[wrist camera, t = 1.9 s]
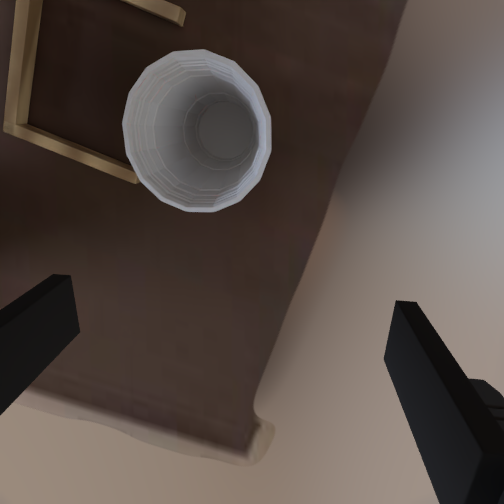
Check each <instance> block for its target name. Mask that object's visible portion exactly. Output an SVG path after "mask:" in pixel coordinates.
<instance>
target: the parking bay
mask: <svg viewBox="0 0 504 504" xmlns="http://www.w3.org/2000/svg"><path fill="white" fill-rule="evenodd" d="M120 1H123V2H125V3H127V4H130V5H132V6H135V7H137V8H139V9H142V10H144V11H146V12H149V13H151V14H153V15H156V16H158V17H160V18H163V19H165V20H167V21H170V22H172V23H174V24H177V25H179V26H182V27H183V23H184V20H185V16H186V12H185V11H184V10H183V9H182V8H181V7H179V6H177V5H175V4H172V3H170V2H168V1H165V0H120ZM42 3H43V0H16V7H15V17H14V26H13V36H12V46H11V56H10V65H9V75H8V85H7V95H6V104H5V114H4V124H3V132H6V133H8V134H11V135H13V136H16V137H19V138H21V139H24V140H26V141H29V142H31V143H34V144H36V145H39V146H41V147H44V148H46V149H49V150H51V151H54V152H56V153H59V154H61V155H63V156H66V157H68V158H71V159H73V160H76V161H78V162H81V163H83V164H86V165H88V166H91V167H93V168H96V169H98V170H101V171H103V172H106V173H108V174H111V175H113V176H116V177H118V178H121V179H123V180H126V181H128V182H131V183H133V184H137V183H139V182H141V181H140V180H139V178H138V176H137V174H136V172H135V170H134V168H133V166H131V165H128V164H126V163H123V162H121V161H118V160H116V159H113V158H111V157H108V156H106V155H103V154H101V153H98V152H96V151H93V150H91V149H88V148H86V147H83V146H81V145H78V144H76V143H74V142H71V141H69V140H66V139H64V138H61V137H59V136H56V135H54V134H51V133H49V132H46V131H44V130H41V129H39V128H36V127H34V126H31V125H29V124H27V121H28V113H29V106H30V98H31V90H32V82H33V74H34V66H35V58H36V51H37V43H38V35H39V27H40V19H41V11H42Z"/></svg>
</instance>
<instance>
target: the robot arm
mask: <svg viewBox="0 0 504 504" xmlns="http://www.w3.org/2000/svg"><path fill="white" fill-rule="evenodd" d="M79 333H80V328H79V322H78V316H77V310H76V304H75V298H74V292H73V286H72V280H71V275H58V274H53V275H51V276H50V277H48V278H47V279H45V280H44V281H42V282H41V283H39V284H38V285H36V286H35V287H33V288H32V289H31V290H29V291H28V292H26V293H25V294H23V295H22V296H20V297H19V298H17V299H16V300H14V301H13V302H12V303H10V304H9V305H7V306H6V307H4V308H3V309H1V310H0V415H1V414H2V413H3V412H4V411H5V410H6V409H7V408H8V407H9V406H10V405H11V403H13V402H14V401H15V400H16V399H17V398H18V396H19V395H20V394H21V393H22V392H23V391H24V390H25V389H26V388H27V387H28V386H29V385H30V384H31V383H32V382H33V381H34V380H35V379H36V378H37V377H38V376H39V374H40V373H41V372H42V371H43V370H44V369H45V368H46V367H47V366H48V365H49V364H50V363H51V362H52V361H53V360H54V359H55V358H56V357H57V356H58V355H59V354H60V352H61V351H62V350H63V349H64V348H65V347H66V346H67V345H68V344H69V343H70V342H71V341H72V340H73V339H74V338H75V337H76V336H77V335H78V334H79ZM384 361H385V364H386V366H387V369H388V372H389V374H390V377H391V379H392V382H393V384H394V387H395V389H396V392H397V395H398V397H399V400H400V403H401V405H402V408H403V410H404V413H405V415H406V418H407V421H408V423H409V426H410V428H411V431H412V434H413V436H414V439H415V441H416V444H417V447H418V449H419V452H420V454H421V456H422V460H423V462H424V465H425V467H426V470H427V472H428V475H429V477H430V480H431V483H432V485H433V488H434V491H435V493H436V496H437V498H438V500H439V503H440V504H504V397H503V396H502V395H501V394H500V392H498V391H497V390H496V389H495V388H493V387H492V386H491V385H490V384H488V383H487V382H486V381H484V380H478V379H468V378H467V376H466V375H465V373H464V372H463V370H462V369H461V367H460V366H459V364H458V363H457V362H456V360H455V358H454V357H453V356H452V354H451V353H450V351H449V350H448V348H447V347H446V345H445V344H444V342H443V341H442V339H441V338H440V336H439V335H438V333H437V332H436V330H435V329H434V327H433V326H432V325H431V323H430V322H429V320H428V319H427V317H426V316H425V314H424V313H423V311H422V310H421V308H420V307H419V306H418V304H417V302H410V301H397V300H396V302H395V307H394V312H393V317H392V321H391V326H390V331H389V336H388V340H387V345H386V350H385V355H384Z"/></svg>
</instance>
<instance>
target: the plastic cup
mask: <svg viewBox="0 0 504 504" xmlns="http://www.w3.org/2000/svg"><path fill="white" fill-rule="evenodd" d="M122 126H123V134H124V141H125V149H126V154H127V156H128V158H129V160H130V162H131V164H132V166H133V168H134V170H135V172H136V174H137V176H138V178H139V180H140V181H141V182H142V183H143V184H144V185H145V186H146V187H147V188H148V189H149V190H150V191H151V192H152V193H153V194H154V195H155V196H156V197H157V198H159V199H160V200H161V201H162V202H165V203H167V204H170V205H172V206H174V207H177V208H179V209H181V210H184V211H186V212H216V211H218V210H221V209H223V208H225V207H228V206H230V205H232V204H235V203H237V202H240V201H241V200H242V199H243V198H244V197H245V196H246V194H247V193H248V192H249V191H250V190H251V189H252V188H253V187H254V186H255V185H256V184H257V183H258V182H259V181H260V179H261V177H262V174H263V171H264V169H265V166H266V164H267V161H268V158H269V156H270V153H271V116H270V114H269V111H268V109H267V106H266V104H265V101H264V99H263V96H262V94H261V91H260V89H259V86H258V85H257V84H256V83H255V82H254V81H253V80H252V79H251V78H250V77H249V76H248V75H247V74H246V73H245V72H244V71H243V70H242V69H241V67H240V66H239V65H238V64H237V63H236V62H235V61H232V60H230V59H227V58H225V57H222V56H220V55H217V54H215V53H212V52H210V51H207V50H205V49H201V50H187V51H173V52H171V53H170V54H168V55H166V56H165V57H163V58H161V59H159V60H158V61H156V62H154V63H153V64H151V65H149V66H147V67H146V69H145V70H144V71H143V73H142V74H141V76H140V77H139V79H138V80H137V81H136V83H135V84H134V86H133V87H132V89H131V90H130V92H129V94H128V99H127V103H126V108H125V112H124V116H123V121H122Z"/></svg>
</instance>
